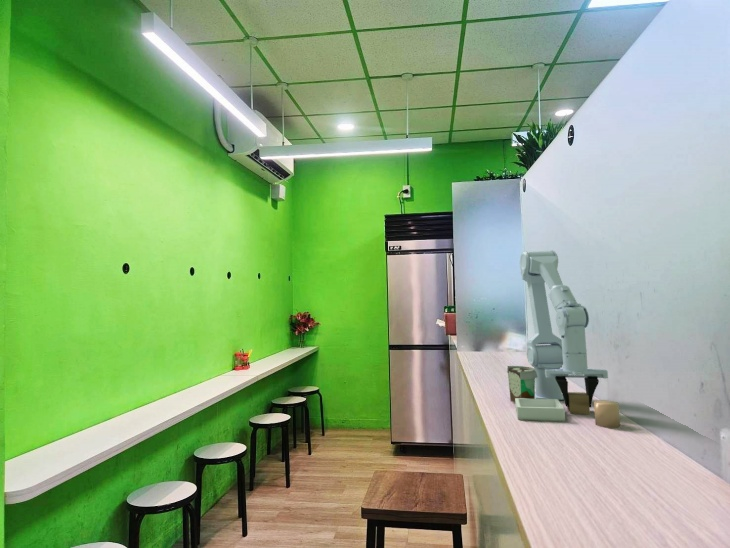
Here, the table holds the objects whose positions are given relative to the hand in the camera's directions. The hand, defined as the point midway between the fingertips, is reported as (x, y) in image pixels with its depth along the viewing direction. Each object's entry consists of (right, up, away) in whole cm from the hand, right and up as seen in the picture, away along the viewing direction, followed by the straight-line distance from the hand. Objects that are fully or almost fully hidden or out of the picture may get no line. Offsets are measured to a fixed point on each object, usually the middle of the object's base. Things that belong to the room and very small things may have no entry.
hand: (578, 406), depth 112 cm
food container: (-10, -3, +10) cm, 14 cm away
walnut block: (0, -1, 0) cm, 1 cm away
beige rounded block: (+1, -1, -13) cm, 13 cm away
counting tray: (-11, -2, -2) cm, 11 cm away
